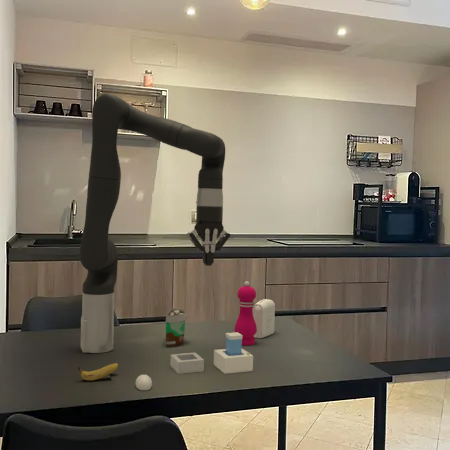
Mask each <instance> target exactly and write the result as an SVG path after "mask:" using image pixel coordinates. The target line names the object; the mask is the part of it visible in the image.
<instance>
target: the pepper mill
mask: <svg viewBox="0 0 450 450" xmlns="http://www.w3.org/2000/svg"><path fill="white" fill-rule="evenodd" d="M250 285H251V283H250V282H249V281H247V280H246V281H244V286H240V288H238V290H237V298H238V299H239V300H238V306H239V314H238V317H237V319H236V321H235V325H234V332H238V333H239V334H241V335H242V346H253V345H255V343H256V338H255V337H254V335H255V334H256V332H257V326H256V323H255V320H254V317H253V309H254V306H255V301H254V300H255V299H256V296H257V292H256V289H255V288H254V287H252V286H250Z"/></svg>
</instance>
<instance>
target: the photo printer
mask: <svg viewBox="0 0 450 450" xmlns="http://www.w3.org/2000/svg"><path fill="white" fill-rule="evenodd" d="M275 311H276V304H275V302H274V300H272V299H266V298H264V299H260V300H259V301H258V302H256V303H254V306H253V317H254V320H255V323H256V326H257V332H256V334H255V335H254V336H253V337H255V339H262V338H266V337H268V336H271V335H273V334H274V333H275V318H276V317H275V315H276V312H275Z"/></svg>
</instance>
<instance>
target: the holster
mask: <svg viewBox="0 0 450 450" xmlns="http://www.w3.org/2000/svg"><path fill="white" fill-rule="evenodd" d="M169 361H170V362H169V363H170V367H171V369H172V370H173V371H174V372H175V373H177V375H182V374H191V373H192V374H193V373H200V372H201V373H202V372H205V370H204V369H205V359H204V358H202V357H201V356H200V355H199V354H198V353H197V352H184V353H175V354H170V360H169Z"/></svg>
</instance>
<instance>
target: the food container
mask: <svg viewBox="0 0 450 450" xmlns="http://www.w3.org/2000/svg"><path fill="white" fill-rule="evenodd" d="M186 320H188V313H187V311H186V309H182V308H177V307H176V308H175V307H174V308H173V307H170V312H169V313H168V315H167V314H166V315H165V348H166V347H167V348H173V347H179V346H182V345H183V344H184V341H185V340H184V339H185V328H186Z"/></svg>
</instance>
